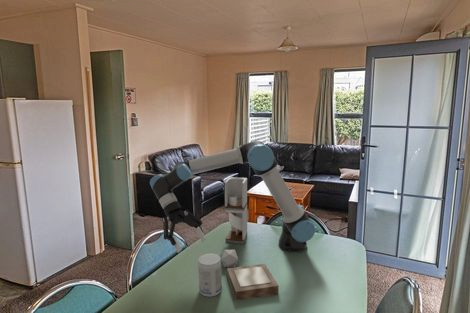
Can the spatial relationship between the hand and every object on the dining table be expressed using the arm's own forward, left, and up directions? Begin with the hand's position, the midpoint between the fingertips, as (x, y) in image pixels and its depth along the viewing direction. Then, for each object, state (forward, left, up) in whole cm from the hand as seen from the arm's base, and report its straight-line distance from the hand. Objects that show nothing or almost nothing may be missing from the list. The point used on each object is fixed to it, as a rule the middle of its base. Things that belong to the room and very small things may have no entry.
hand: (192, 245), depth 135 cm
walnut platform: (-24, +9, -17) cm, 31 cm away
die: (-18, -9, -17) cm, 27 cm away
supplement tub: (-6, +9, -17) cm, 20 cm away
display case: (-28, -38, -17) cm, 51 cm away
